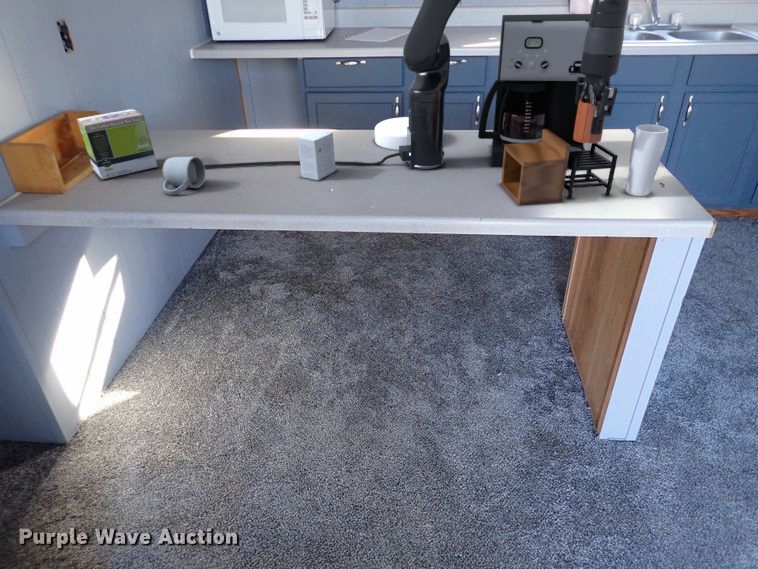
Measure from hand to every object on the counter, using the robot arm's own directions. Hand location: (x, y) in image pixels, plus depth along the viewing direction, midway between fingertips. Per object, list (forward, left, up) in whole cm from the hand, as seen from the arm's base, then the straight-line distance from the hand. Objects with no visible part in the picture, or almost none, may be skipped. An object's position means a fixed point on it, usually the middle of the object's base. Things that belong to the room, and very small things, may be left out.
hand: (588, 129), depth 123 cm
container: (-33, +48, -14) cm, 60 cm away
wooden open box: (-12, 0, -14) cm, 19 cm away
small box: (-61, +23, -14) cm, 67 cm away
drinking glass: (+12, -5, -14) cm, 19 cm away
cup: (0, 0, -2) cm, 2 cm away
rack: (0, 0, -14) cm, 14 cm away
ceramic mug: (-95, +20, -14) cm, 98 cm away
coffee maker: (-3, +25, -14) cm, 29 cm away
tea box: (-114, +38, -14) cm, 121 cm away
